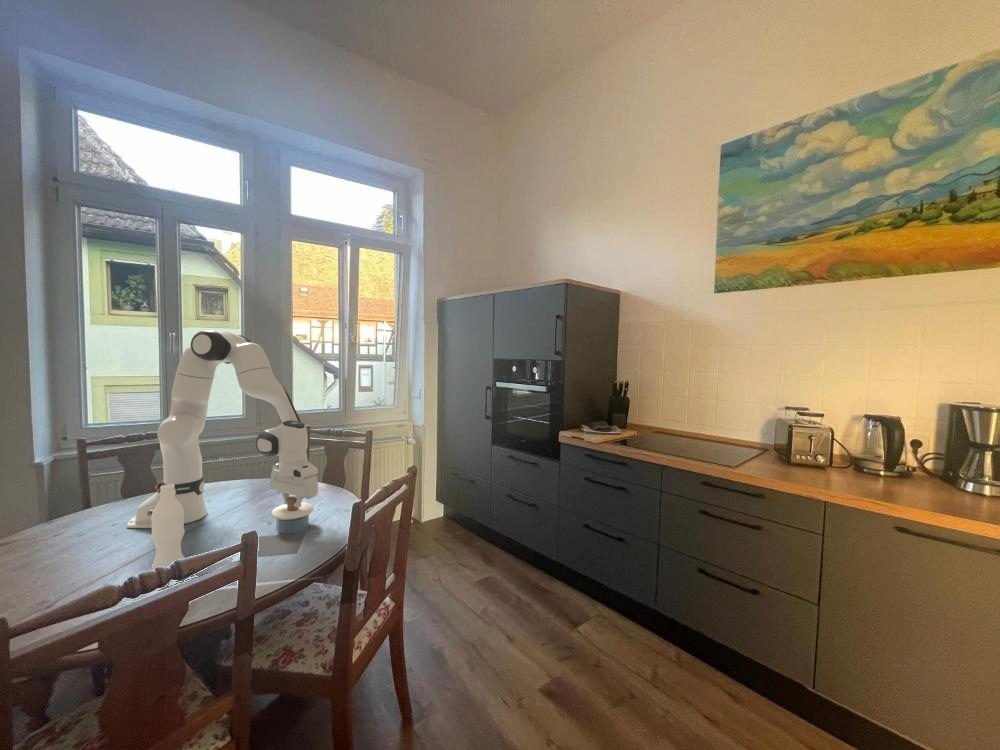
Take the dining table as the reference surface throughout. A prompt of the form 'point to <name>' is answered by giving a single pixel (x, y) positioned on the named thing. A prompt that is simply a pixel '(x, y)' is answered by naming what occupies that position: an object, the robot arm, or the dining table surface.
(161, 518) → the water bottle
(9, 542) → the dining table surface
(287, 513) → the lid
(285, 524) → the bowl
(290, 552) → the mat
